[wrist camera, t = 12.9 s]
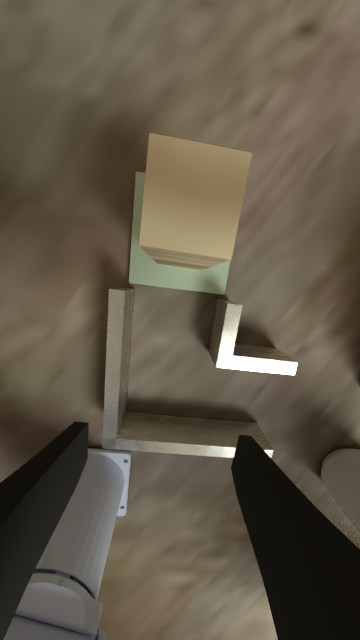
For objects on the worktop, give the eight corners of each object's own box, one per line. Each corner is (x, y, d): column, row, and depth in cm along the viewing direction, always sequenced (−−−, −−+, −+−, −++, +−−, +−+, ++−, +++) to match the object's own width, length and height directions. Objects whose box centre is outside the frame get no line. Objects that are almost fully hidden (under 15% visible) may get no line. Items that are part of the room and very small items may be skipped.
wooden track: (255, 431, 21) (270, 460, 18) (114, 420, 20) (102, 448, 17) (285, 307, 18) (311, 313, 15) (121, 287, 17) (108, 288, 14)
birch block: (200, 270, 17) (231, 259, 8) (157, 264, 16) (139, 245, 8) (208, 223, 16) (252, 152, 7) (163, 216, 16) (149, 132, 7)
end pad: (223, 294, 18) (224, 294, 17) (129, 282, 17) (128, 282, 17) (241, 190, 16) (242, 188, 15) (136, 174, 15) (135, 171, 15)
